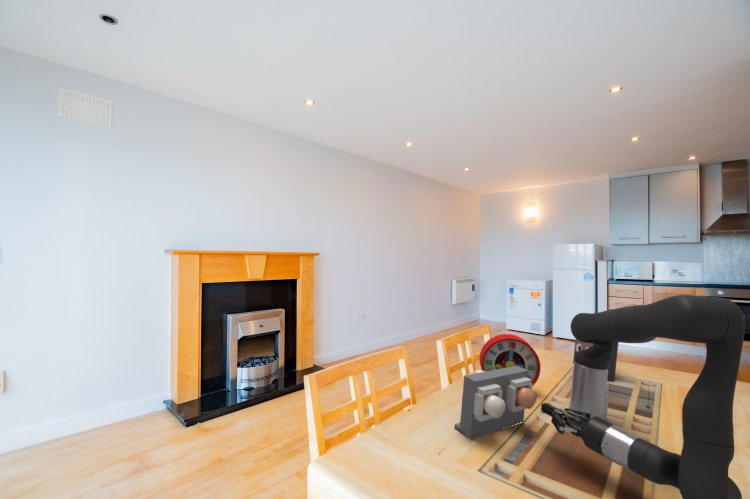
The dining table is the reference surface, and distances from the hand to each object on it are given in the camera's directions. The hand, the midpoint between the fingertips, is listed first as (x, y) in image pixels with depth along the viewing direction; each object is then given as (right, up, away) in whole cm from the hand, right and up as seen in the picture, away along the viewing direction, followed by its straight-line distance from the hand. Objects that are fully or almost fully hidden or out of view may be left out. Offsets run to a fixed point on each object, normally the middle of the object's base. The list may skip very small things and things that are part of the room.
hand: (542, 406), depth 93 cm
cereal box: (+50, -12, +57) cm, 77 cm away
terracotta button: (-3, -2, +5) cm, 6 cm away
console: (-11, -9, +6) cm, 16 cm away
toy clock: (+3, -9, +32) cm, 34 cm away
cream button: (-14, -1, -1) cm, 14 cm away
